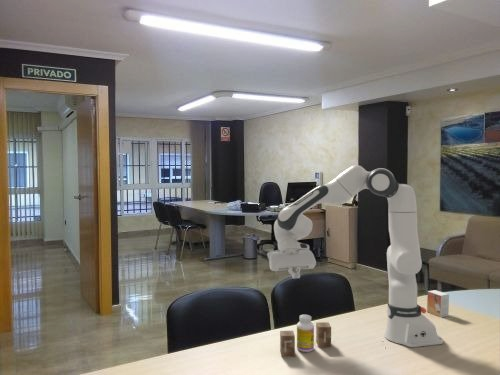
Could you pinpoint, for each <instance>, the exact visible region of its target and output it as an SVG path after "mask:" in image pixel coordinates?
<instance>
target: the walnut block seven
mask: <svg viewBox="0 0 500 375" xmlns="http://www.w3.org/2000/svg"><path fill="white" fill-rule="evenodd" d="M279 332H280V333H279V334H280V335H279V338H280V339H279V342H280V343H279V348H280V349H279V351H280V356H281V358H295V357H296V345H295V343H296V338H295V337H296V335H295V332H294V330H280V331H279Z"/></svg>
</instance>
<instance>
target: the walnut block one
mask: <svg viewBox="0 0 500 375" xmlns="http://www.w3.org/2000/svg"><path fill="white" fill-rule="evenodd" d="M315 324H316V326H315V327H316V328H315V330H316V331H315V332H316V333H315V334H316V335H315V336H316V337H315V338H316V340H315V341H316V344H317V347H318V348H331V347H332V326H331V324H330V322H329V321H327V322H326V321H325V322H324V321H323V322H316V323H315Z"/></svg>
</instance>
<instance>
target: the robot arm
mask: <svg viewBox="0 0 500 375" xmlns="http://www.w3.org/2000/svg"><path fill="white" fill-rule="evenodd" d="M366 189H367V190H369V191H370V192H371V193H372V194H373V195H376V196H380V197H384V198H386V199H387V204H388V205H387V206H388V210H387V211H388V233H389V239H390V240H389V241H390V245H389V246H388V247H387V250H386V262H387V264H386V265H387V267H386V268H387V277H388V278H387V279H388V302H387V307H386V309H387V324H386V328H385V331H384V337H385V338H386V339H387V340H388V341H390V342H392V343H396V344H399V345H404V346H405V347H408V348H418V347H423V346H424V347H427V346H435V345H442V344H444V339H443V337H442V336H441V335H440V334H439V333H438V332H437V331H438V330H437V328H436V325H435V324H434V322H432V321H431V320H430V319H429V318H427V317H426V316H425V315H424V314H426V313H427V308H425V307H422V306H421V305H419V304H418V284H417V283H418V282H417V277H416V274H418V273H419V272H420V271H421V269H422V267H423V262H422V256H421V246H420V240H419V234H418V205H417V198H416V197H417V196H416V193H415V189H414V188H413V187H412V186H411V185H409V184H406V183H399V182H398V181H397V180H396V178H395V176H394V174H393V173H392V172H391V171H390V170H389V169H387V168H382V167H379V168H376V169H373V170H369V171H367V170H366V169H365V168H364V167H363V166H362V165H360V164H359V165H357V164H353V165H351V166H350V167H347V168H346V169H345V170H344V171H342V172H341V173H339V174H338V175H337V176H336V177H335V178H333V179H332V180H330V181H329V182H327V183H325V184H323V185H319V186H317V187H314V188H313V189H311V190H309V191H308V192H307V193H306V194H304V195H302V196H301V197H300V198H299V199H297V200H296V201H294V202H293V203H291V204H288V205H286V206H284V207H282V209H280V210H279V211H278V214H277V218H276V220H275V221H274V224H273V232H274V237H275V240H276V242H277V248H278V250H269V251H268V252H267V254H266V256H267V259H268V260H269V261H268V262H269V270H270V271H272V272H281V271H287V272H288V274H290V275H291V277H292V279H301V274H300V272H301V270H311V269H314V268H315V267H316V265H317V260H316V257H315V255H314V253H313V252H312V250H311V249H310V245H309V244H307V243H303V242H299V241H300V240H303V239H304V238H307V237H309V236H310V235H311V233H312V231H313V228H314V223H313V221H312V219H310V218H309V217H307V216H306V215H304V214H305V213H306V212H307V211H308V210H310V209H312V208H313V207H315V206H316V205H319V204H330V205H332V206H333V205H335V206H341V205H344V204H346V203H348V202H349V201H350V200H351V199H352V198H354V197H355V196H356V195H357V194H358V193H359V192H361V191H363V190H366ZM294 271H296V272H294Z"/></svg>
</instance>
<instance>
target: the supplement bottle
mask: <svg viewBox="0 0 500 375" xmlns="http://www.w3.org/2000/svg"><path fill="white" fill-rule="evenodd" d="M314 331H315V324H314V323H313V322H312V316H311V315H309V314H300V315H299V321H298V322H297V324H296V349H297V350H298V351H300V352H304V353H310V352H312V351H314V349H315V348H314V347H315V332H314Z"/></svg>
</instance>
